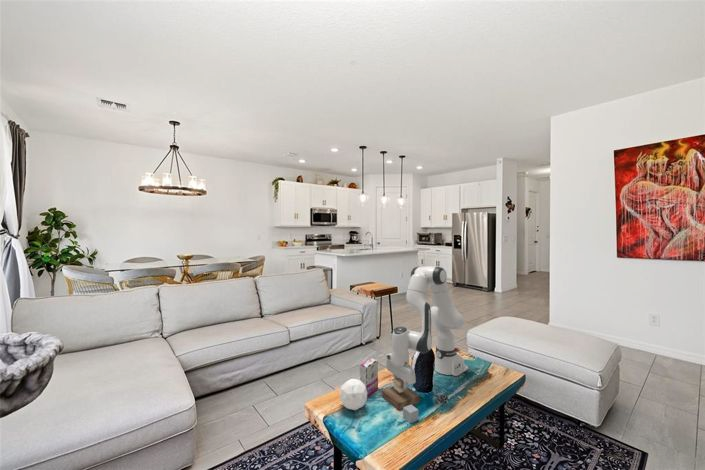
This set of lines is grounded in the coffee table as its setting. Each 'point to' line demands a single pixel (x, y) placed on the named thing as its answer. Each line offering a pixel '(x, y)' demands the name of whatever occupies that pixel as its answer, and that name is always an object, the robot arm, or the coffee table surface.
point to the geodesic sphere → (353, 394)
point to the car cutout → (443, 398)
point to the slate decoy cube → (410, 413)
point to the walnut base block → (400, 397)
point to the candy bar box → (369, 375)
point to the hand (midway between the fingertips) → (400, 385)
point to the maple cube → (399, 385)
